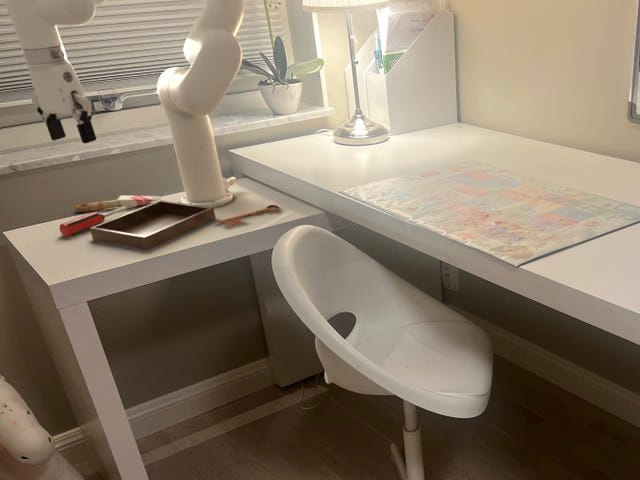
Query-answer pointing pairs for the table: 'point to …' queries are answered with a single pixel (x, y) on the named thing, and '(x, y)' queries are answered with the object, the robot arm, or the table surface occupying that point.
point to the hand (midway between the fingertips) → (74, 140)
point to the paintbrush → (118, 203)
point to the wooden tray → (152, 224)
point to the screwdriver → (85, 222)
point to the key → (237, 218)
